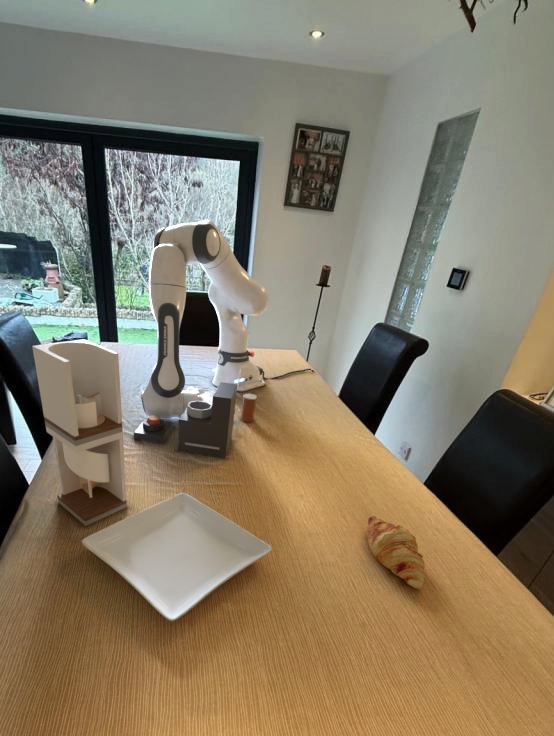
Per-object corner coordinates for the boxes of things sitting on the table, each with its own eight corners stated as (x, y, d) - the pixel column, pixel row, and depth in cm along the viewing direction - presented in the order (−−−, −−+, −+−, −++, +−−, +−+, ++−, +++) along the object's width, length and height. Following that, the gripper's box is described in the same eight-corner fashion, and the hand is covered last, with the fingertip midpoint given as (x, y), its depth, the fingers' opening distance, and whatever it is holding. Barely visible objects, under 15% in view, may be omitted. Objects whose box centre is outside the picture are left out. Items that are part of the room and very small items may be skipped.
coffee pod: (248, 416, 147) (251, 392, 142) (256, 421, 144) (259, 397, 139) (237, 418, 144) (240, 394, 139) (246, 423, 141) (249, 399, 136)
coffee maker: (187, 434, 130) (189, 377, 120) (231, 440, 129) (237, 384, 119) (177, 451, 120) (179, 391, 110) (225, 459, 119) (231, 399, 109)
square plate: (272, 560, 85) (275, 546, 83) (170, 637, 68) (171, 621, 65) (183, 502, 99) (183, 488, 97) (80, 553, 82) (78, 537, 80)
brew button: (149, 419, 128) (149, 414, 127) (161, 421, 128) (161, 416, 127) (146, 424, 125) (146, 419, 124) (157, 426, 125) (157, 420, 124)
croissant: (424, 603, 83) (455, 577, 80) (392, 591, 79) (423, 563, 75) (374, 534, 100) (397, 510, 97) (345, 521, 95) (368, 496, 92)
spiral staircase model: (58, 502, 95) (32, 345, 76) (98, 486, 102) (84, 338, 82) (85, 525, 89) (64, 361, 70) (126, 507, 96) (118, 353, 76)
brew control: (145, 424, 134) (145, 412, 131) (172, 428, 133) (172, 416, 131) (133, 439, 124) (133, 426, 122) (163, 443, 124) (163, 431, 121)
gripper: (194, 408, 127) (238, 409, 130) (188, 385, 144) (228, 386, 146) (194, 427, 131) (236, 427, 133) (188, 402, 148) (226, 403, 150)
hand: (232, 405), depth 140 cm, fingers open, 8 cm apart
